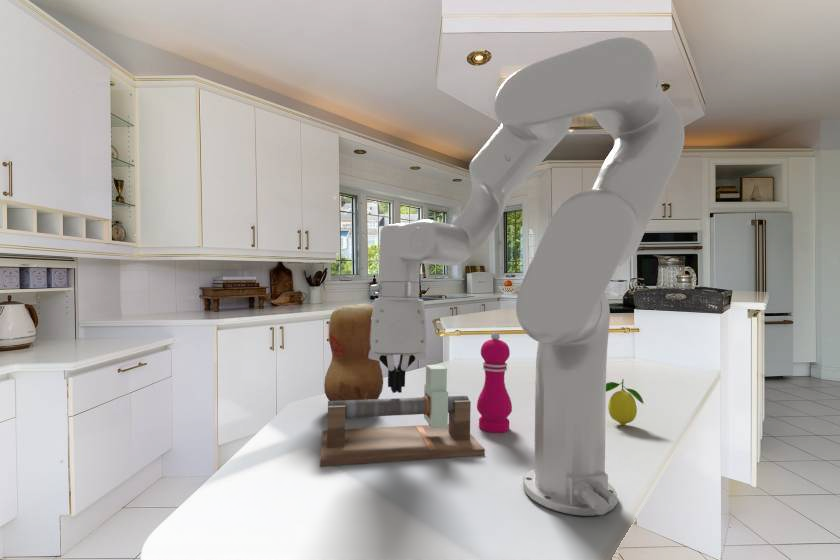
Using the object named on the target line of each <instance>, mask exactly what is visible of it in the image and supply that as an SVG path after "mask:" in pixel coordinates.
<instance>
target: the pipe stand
mask: <svg viewBox="0 0 840 560" xmlns="http://www.w3.org/2000/svg"><path fill="white" fill-rule="evenodd" d="M430 400H431V398H430V397H429V396H424V395H423V396H422V397H401V398H400V397H399V398H378V399H368V400H343V401H329V400H328V401H327V426H326V427H327V429H325V430H324V429H323V430H321V445H320V457H319V460H320V461H319V463H320V464H319V467H329V466H330V467H331V466H334V467H335V466H346V465H347V466H348V465H359V464H361V465H362V464H373V463H375V464H376V463H389V462H402V461H405V462H406V461H417V460H430V459H431V460H433V459H442V458H443V459H444V458H445V459H446V458H459V457H473V456H485V455H486V454H485V452H486V449H485V448H484V447H483V446H482V444H481V443H479V441H478V440H477V439H476V438H475V437H474V436H473V435H472V433H471V400H470V397H469V396H468V395H451V396H450V395H448V428H431V427H430V425H429V424H420V425H418V424H417V425H402V426H383V427H366V428H365V427H363V428H347V429H346V419H349V418H368V417H369V418H370V417H371V418H372V417H388V416H389V417H390V416H392V417H393V416H410V415H411V416H413V415H414V416H415V415H423V416H424V415H430Z"/></svg>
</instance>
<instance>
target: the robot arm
mask: <svg viewBox="0 0 840 560" xmlns="http://www.w3.org/2000/svg"><path fill="white" fill-rule="evenodd" d="M493 108H494V114H495V116H496V118H497V120H498V122H499V123H500V126H499V127H498V128H497V130H495V132H494V133H493V134H492V136H490V138H489V139H488V140H487V142H486V143H485V144H484V145H483V147H482V148H481V149H480V150H479V151H478V153H477V154H476V155H475V156H474V157H473V158H472V160H471V161H470V162H469V167H468V170H469V174H470V181H471V194H470V197H469V200H468V202H467V204H466V205H465V207H464V208H463V210H462V211H461V212H460V213H459V215H458V216H457V217H456V218H455V219H454V220H453V222H452V223H451V224H450V223H446V222H441V221H436V220H433V219H421V220H417V221H416V220H415V221H413V222H409V223H406V224H405V223H391V224H387V225H384V226H382V228H381V230H380V232H379V233H380V234H379V262H378V263H379V267H378V269H379V270H378V282H377V283H375V284H370V293H376V294H377V295H378V298H374V301H373V304H372V307H373V312H372V317H371V328H370V349H369V353H368V357H369V359H372V360H377V361H379V362H381V363H382V364H383V365H384V366H385V367H386V369H387V387H388V388H390V390H391V391H392V394H393V393H394V394H395V393H403V392H402V389H403V388H404V387H405V386H406V371H407V370H408V368H409V367H410V366H411V365H412V364H413V363H414V362H416V361H420V360H423V359H426V357H427V354H426V350H427V322H426V321H427V317H426V310H425V308H426V307H425V302H424V299H420V275H421V274H420V273H421V272H420V268H421V264H427V265H435V266H436V265H440V266H447V267H448V266H449V267H450V266H451V267H453V266H457V265H461V264H462V263H464V262H466V261H467V260H468V259H469V258H470V257H472V256H473V255H474V254H475V252H477V251H478V249H480V247H481V246H482V245H483V244H484V243H485V242H487V240H488V238H489V237H490V236H491V235H492V234H493V232H494V231H495V229H496V227H497V226H498V224H499V222H500V219H501V218H502V216H503V214H504V211H505V210H506V206H507V204H508V200H510V198H511V196H512V195H513V194H514V193H515V192H516V191H517V189H519V188H520V186H521V185H522V184H523V183H524V181H526V180H527V179H528V177H529V176H531V174H532V173H533V172H534V171H535V170H536V169H537V168H538V166H540V164H541V163H542V162H543V161H544V160H545V159H546V157H547V156H548V155H549V154H550V153H552V151H553V150H554V149H555V148H556V146H558V144H559V143H560V142H561V141H562V140H563V138H564V137H565V136H566V135H567V133H568V131H569V129H570V128H571V126H572V125H571V124H572V119H574V118H577V117H582V116H586V115H592V116H593V117H594V119H595V120H596V121H597V123H598V124H599V126H600V127H601V128H602V129H603V130H604V131H605V132H607V133H608V134H609V135H610V136H611V137H612V138H613V148H612V150H611V151H610V152H609V154H608V156H606V158H605V160H604V162H603V163H602V164H601V165H602V166H601V168H600V169H599V172H598V175H597V178H596V180H595V181H594V184H593V186H592V188H589V189H585V190H582V191H580V192H579V191H578V192H577V193H574V194H573V195H571V196H570V197H569V198H567V199H566V200H565V201H563V202H562V203H561V205H560V206H559V207H558V208H557V209H556V211H555V212H554V214H553V215H552V217H551V218H550V221H549V222H548V225H547V227H546V228H545V230H544V233H543V234H542V237H541V239H540V242H539V244H538V246H537V248H536V251H535V253H534V255H533V257H532V260H531V261H530V263H529V266H528V268H527V271H526V273H525V275H524V277H523V279H522V281H521V283H520V286H519V289H518V292H517V296H516V300H515V301H516V303H515V311H516V312H515V313H516V318H517V320H518V323H519V325H520V327H521V329H522V330H523V331H524V333H525V334H526V335H527V336H529V337H530V338H531V339H533V340H534V341H536V342H537V343H538V344H537V351H536V360H535V380H534V381H535V391H534V392H535V395H534V397H535V398H534V400H535V401H534V403H535V404H534V405H535V406H534V457H533V458H534V465H533V467H534V469H530V470H529V471H527V472H526V473H525V474H524V476H523V479H522V480H523V481H522V487H523V490H524V492H525V493H526V495H527V496H528V497H529V498H530V499H531V500H533V501H534V502H536V503H537V504H539V505H541V506H543V507H545V508H548V509H550V510H552V511H556V512H559V513H563V514H567V515H572V516H582V517H583V516H586V517H587V516H588V517H589V516H590V517H591V516H592V517H593V516H603V515H605V514H607V513H609V512H611V511H612V510H614V508H615V507H616V506H617V504H618V503H619V498H618V493H617V491H616V489H615V488H614V487H613V486H612V484H610V483H609V475H608V474H607V473H606V412H607V411H606V409H607V408H606V406H607V405H606V402H607V399H606V398H607V395H606V393H607V392H606V383H607V359H608V344H609V343H608V342H609V334H610V333H609V331H610V321H611V319H610V318H611V315H610V313H611V311H610V310H611V309H610V303H609V298H608V296H607V294H606V290H607V288H608V286H609V284H610V282H611V280H612V278H613V277H614V274H615V273H616V271H617V268H618V267H620V266H622V265H623V264H625V263H627V262H628V261H629V260H631V258H633V257H634V255H635V254H636V252H637V251H638V249H639V247H640V244H641V242H642V240H643V236H644V235H645V232H646V230H647V228H648V226H649V224H650V222H651V220H652V218H653V215H654V214H655V212H656V210H657V208H658V206H659V203H660V202H661V200H662V198H663V195H664V193H665V190H666V188H667V186H668V184H669V182H670V179H671V177H672V175H673V173H674V171H675V169H676V167H677V166H678V163H679V161H680V158H681V155H682V153H683V150H684V145H685V138H686V137H685V134H686V133H685V126H684V122H683V119H682V115H681V114H680V112H679V110H678V108H677V107H676V106H675V105H674V103H673V102H672V101H671V99H670V98H669V97H668V96H667V95H666V93H665V92H664V90H663V87H662V82H661V79H660V74H659V69H658V65H657V61H656V59H655V56H654V53H653V52H652V50H651V49H650V47H649V46H648V44H645V43H644V42H643V41H641V40H639V39H635V38H633V37H623V36H622V37H620V36H619V37H614V38H613V37H612V38H607V39H603V40H601V41H597V42H593V43H591V44H588V45H584V46H582V47H579V48H575V49H572V50H570V51H569V50H568V51H566V52H562V53H559V54H557V55H553V56H551V57H548V58H544V59H542V60H540V61H539V60H538V61H537V62H536V61H535V62H534V63H532V64H529V65H527V66H524V67H523V68H520V69H519V70H517V71H515V72H514V73H513V74H511V75H510V76H509V77H507V78H506V79H505V81H503V82H502V84H501V85H500V87H499V89H498V90H497V93H496V95H495V98H494V104H493ZM394 355H395V356H396V355H399V363H398V365H397V367H396V365H395V359H394V358H395V357H394Z"/></svg>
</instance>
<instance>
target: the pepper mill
mask: <svg viewBox="0 0 840 560" xmlns="http://www.w3.org/2000/svg"><path fill="white" fill-rule="evenodd" d="M490 338H491V339H488V340H486V341H485V342H483V344H482V345H481V348H480V355H481V358H482V359H483V360H484V362H483V363H482V365H483V367H482V369H483V370H484V376H485V377H484V378H485V379H484V385H483V387H482V389H481V392H480V393H479V395H478V398H477V402H476V410H477V412H478V413H479V414H480V417H479V418H478V428H479V429H480V430H482V431H483V432H486V433H487V432H488V433H493V434H501V433H506V432H508V431H509V430H510V419H508V417H509V416H510V415H511V413H512V412H513V404H512V400H511V397H510V394H509V392H508V389H507V388H506V384H505V376H506V375H505V374H506V373H505V372H507V371H508V367H507V366H508V363H507V360H508V359H509V358H510V354H511V353H510V352H511V351H510V347H509V345H508V344H507V342H505V341H503V340H501V339H500V334H499V332H496V331H493V332H492V333H491V335H490Z"/></svg>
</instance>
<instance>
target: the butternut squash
mask: <svg viewBox="0 0 840 560" xmlns="http://www.w3.org/2000/svg"><path fill="white" fill-rule="evenodd" d="M372 312H373V305H371V304H369V303H357V304H351V305H350V304H349V305H342V306H339V307H337V308H336V309H334V310H333V311H332V312H331V315H330V318H329V319H330V321H329V333H328V335H329V337H328V338H329V339H328V341H329V346H330V350H331V361H330V364H329V366H328V368H327V371H326V374H325V376H324V383H323V385H324V394H325V396H326V399H328V401H343V400H368V399H380V396H381V394H382V392H383V389H384V388H383V386H384V377H383V371H382V368H381V367H382V366H381V363H380V362H381V361H377V360H372V359H369V357H368V353H369V349H370V328H371V317H372Z"/></svg>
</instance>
